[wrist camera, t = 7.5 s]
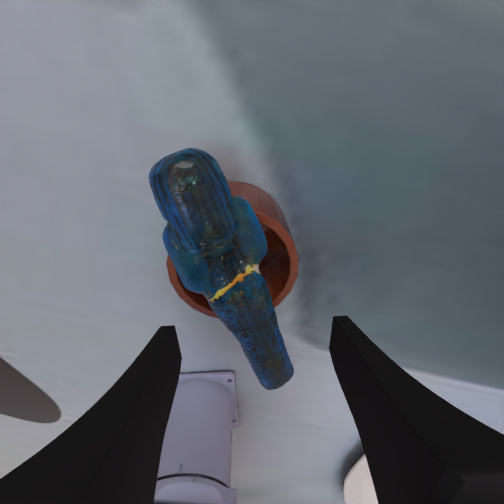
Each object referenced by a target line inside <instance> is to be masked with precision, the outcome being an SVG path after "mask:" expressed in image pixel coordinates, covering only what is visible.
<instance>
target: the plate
mask: <svg viewBox="0 0 504 504" xmlns="http://www.w3.org/2000/svg"><path fill="white" fill-rule="evenodd" d="M343 495H344V501H345V504H378V500H377V496H376V493H375V489H374V485H373V481H372V477H371V474H370V470H369V467H368V463H367V459H366V456H365V454H364V455H363V456H362V457H361V458H360V459H359V460H358V461H357V462H356V463H355V465H354V466H353V467H352V468H351V470H350V471H349V473H348V474H347V476H346V478H345V481H344V486H343Z"/></svg>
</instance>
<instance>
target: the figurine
mask: <svg viewBox="0 0 504 504" xmlns="http://www.w3.org/2000/svg"><path fill="white" fill-rule="evenodd" d="M149 181H150V186H151V189H152V192H153V194H154V198H155V200H156V202H157V204H158V207H159V209H160V211H161V213H162V216H163V218H164V219H165V220H166V221H167V222H168V223H167V226H166V227H165V229H164V232H163V234H162V235H163V240H164V244H165V247H166V250H167V252H168V254H169V257H170V259H171V261H172V263H173V265H174V267H175V269H176V271H177V273H178V275H179V277H180V279H181V281H182V283H183V285H184V286H185V288H187V289H188V290H190V291H193V292H196V293H200V294H204V296H205V297H206V298H207V300H208V303H209V305H210V307H211V309H212V311H213V312H214V313H215V314H216V316H217V317H218V318H219V319H220V320H221V321H222V322H223V323H224V324H225V326H226V327H227V328H228V330H229V331H231V332H232V334H233V335H234V336H235V337H236V338H237V340H238V341H239V343H240V344H241V347H242V349H243V351H244V353H245V355H246V357H247V358H248V361H249V363H250V365H251V367H252V369H253V371H254V372H255V374H256V376H257V378H258V380H259V382H260V384H261V385H262V386H263V387H264V388H265V389H268V390H273V389H277V388H279V387H281V386H283V385H284V384H285V383H287V382H288V381H289V380H290V379H291V378H292V376H293V374H294V369H293V366H292V364H291V361H290V358H289V356H288V353H287V350H286V348H285V345H284V341H283V338H282V335H281V333H280V330H279V327H278V324H277V318H276V313H275V310H274V305H273V302H272V299H271V295H270V292H269V289H268V287H267V284H266V281H265V279H264V277H263V275H262V274H261V273H260V271H259V264H260V262H261V260H262V259H263V258H264V256H265V255H266V253H267V241H266V237H265V235H264V232H263V230H262V227H261V225H260V223H259V221H258V218H257V217H256V215H255V213H254V211H253V209H252V208H251V206H250V204H249V203H248V202H247V201H246V200H245V199H244V198H242V197H240V196H232V194H231V189H230V187H229V185H228V183H227V180H226V178H225V176H224V174H223V172H222V170H221V168H220V166H219V165H218V163H217V162H216V160H215V159H214V158H213V157H212V156H211V155H210V154H208V153H207V152H205V151H203V150H200V149H195V148H188V149H185V150H181V151H178V152H176V153H173V154H171V155H168V156H166V157H164V158H163V159H161V160H160V161H158V162H157V163H156V164H155V165H154V166H153V167H152V169H151V171H150V173H149Z"/></svg>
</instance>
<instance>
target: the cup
mask: <svg viewBox="0 0 504 504" xmlns="http://www.w3.org/2000/svg"><path fill="white" fill-rule="evenodd" d="M227 183H228V185H229V187H230V189H231V194H232V196H240V197H242V198H244V199H245V200H246V201H247V202H248V203H249V204H250V206H251V208H252V209H253V211H254V213H255V215H256V217H257V218H258V221H259V223H260V225H261V227H262V230H263V232H264V235H265V237H266V241H267V253H266V255H265V256H264V258H263V259H262V260H261V262H260V264H259V271H260V273H261V274H262V275H263V277H264V279H265V281H266V284H267V287H268V289H269V292H270V295H271V299H272V302H273V305H274V307H275V306H277V305H278V304H280V303H281V301H282V300H283V299H284V298H285V297H286V296H287V295H288V294H289V293H290V291H291V289H292V287H293V285H294V282H295V280H296V278H297V275H298V260H299V258H298V254H297V251H296V248H295V245H294V242H293V239H292V236H291V234H290V231H289V228H288V226H287V223H286V221H285V218H284V215H283V213H282V210H281V209H280V207H279V206H278V204H277V203H276V201H275V200H274V199H273V198H272V197H271V196H270V195H269V194H268V193H266V192H265V191H264V190H262V189H260V188H258V187H256V186H254V185H251V184H248V183H243V182H227ZM167 269H168V274H169V279H170V282H171V284H172V285H173V287H174V289H175V290H176V292H177V294H178V295H179V296H180V298H181V299H183V300H184V301H185V302H186V303H187V304H188V305H190V306H191V307H192V308H193V309H195V310H197V311H199V312H201V313H204V314H206V315H208V316H210V317H216V318H218V317H217V316H216V314H215V313H214V312H213V311H212V309H211V307H210V305H209V303H208V300H207V298H206V297H205V296H204V294H200V293H196V292H193V291H190V290H188V289H187V288H185V286H184V285H183V283H182V281H181V279H180V277H179V275H178V273H177V271H176V269H175V267H174V265H173V263H172V261H171V259H170V257H169V254H168V258H167Z"/></svg>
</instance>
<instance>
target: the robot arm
mask: <svg viewBox="0 0 504 504" xmlns="http://www.w3.org/2000/svg"><path fill="white" fill-rule="evenodd" d="M329 350H330V354H331V358H332V362H333V365H334V369H335V372H336V375H337V377H338V380H339V382H340V385H341V388H342V390H343V393H344V395H345V398H346V400H347V403H348V405H349V408H350V410H351V413H352V415H353V418H354V420H355V423H356V426H357V429H358V432H359V435H360V439H361V442H362V446H363V449H364V452H365V456H366V459H367V463H368V467H369V470H370V474H371V477H372V481H373V485H374V489H375V493H376V496H377V500H378V504H504V435H503V434H501V433H499V432H498V431H496V430H494V429H492V428H490V427H488V426H486V425H485V424H483V423H481V422H479V421H478V420H476V419H474V418H473V417H471V416H469V415H468V414H466V413H464V412H463V411H461V410H459V409H458V408H456V407H455V406H453V405H451V404H450V403H448V402H447V401H445V400H444V399H442V398H441V397H439V396H438V395H436V394H435V393H433V392H432V391H431V390H429V389H428V388H426V387H425V386H424V385H422V384H421V383H420V382H418V381H417V380H416V379H414V378H413V377H412V376H410V375H409V374H408V373H407V372H405V371H404V370H403V369H402V368H401V367H399V366H398V365H397V364H396V363H395V362H394V361H393V360H391V359H390V358H389V357H388V356H387V355H386V354H385V353H384V352H383V351H382V350H381V349H379V348H378V347H377V346H376V345H375V344H374V343H373V342H372V341H371V340H370V339H369V338H368V337H367V336H366V335H365V334H364V333H363V332H362V331H361V330H360V329H359V328H358V327H357V326H356V325H355V324H354V323H353V322H352V320H351V319H350V318H349V317H348V316H333V323H332V331H331V339H330V346H329ZM181 359H182V356H181V352H180V347H179V343H178V339H177V334H176V330H175V326H161V327H160V328H159V329H158V330H157V332H156V333H155V335H154V336H153V337H152V339H151V340H150V341H149V343H148V344H147V345H146V347H145V348H144V349H143V351H142V352H141V353H140V354H139V356H138V357H137V358H136V359H135V361H134V362H133V363H132V364H131V366H130V367H129V368H128V369H127V370H126V371H125V373H124V374H123V375H122V376H121V377H120V378H119V379H118V381H117V382H116V383H115V384H114V385H113V386H112V387H111V388H110V389H109V390H108V391H107V392H106V393H105V394H104V395H103V396H102V397H101V398H100V399H99V400H98V401H97V402H96V403H95V404H94V405H93V406H92V407H91V408H90V409H89V410H88V411H87V412H86V413H85V414H84V415H83V416H81V417H80V418H79V419H78V420H77V421H76V422H75V423H74V424H72V425H71V426H70V427H69V428H68V429H67V430H65V431H64V432H63V433H62V434H60V435H59V436H58V437H57V438H56V439H54V440H53V441H52V442H50V443H49V444H48V445H47V446H45V447H44V448H43V449H41V450H40V451H39V452H38V453H36V454H35V455H34V456H32V457H31V458H29V459H28V460H27V461H25V462H24V463H22V464H21V465H20V466H18V467H17V468H15V469H14V470H12V471H11V472H10V473H8V474H7V475H5V476H4V477H2V478H1V479H0V504H236V489H232V488H231V449H232V428H237V427H238V426H239V420H238V409H237V398H236V387H235V376H234V373H233V372H230V371H228V372H210V373H192V374H180V367H181Z"/></svg>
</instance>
